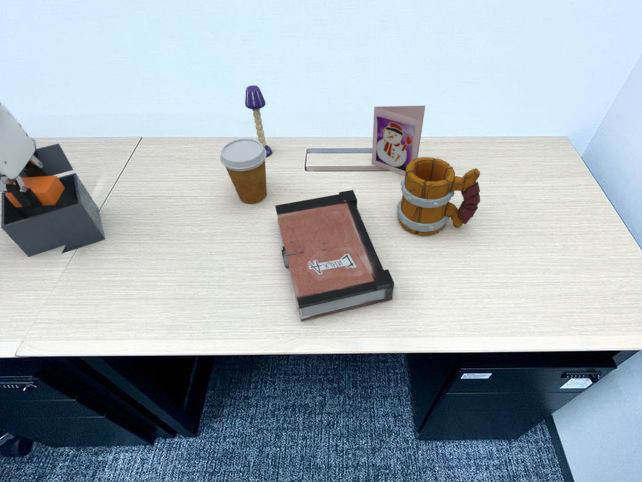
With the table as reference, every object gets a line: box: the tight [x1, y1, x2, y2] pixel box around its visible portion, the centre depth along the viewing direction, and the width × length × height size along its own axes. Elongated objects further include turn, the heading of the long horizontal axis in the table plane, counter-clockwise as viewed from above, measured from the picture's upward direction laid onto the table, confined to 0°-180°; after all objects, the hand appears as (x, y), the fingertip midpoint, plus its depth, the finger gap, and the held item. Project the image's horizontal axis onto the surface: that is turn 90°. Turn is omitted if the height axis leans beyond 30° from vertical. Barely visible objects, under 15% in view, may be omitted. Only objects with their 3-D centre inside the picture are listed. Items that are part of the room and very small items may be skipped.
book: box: [274, 189, 395, 322], centre depth 77 cm, size 26×18×5 cm
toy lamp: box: [244, 84, 273, 158], centre depth 96 cm, size 5×5×17 cm
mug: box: [396, 156, 481, 237], centre depth 80 cm, size 11×16×15 cm, turn 70°
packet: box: [5, 175, 65, 207], centre depth 74 cm, size 7×5×3 cm
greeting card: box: [371, 105, 426, 177], centre depth 93 cm, size 11×7×15 cm, turn 58°
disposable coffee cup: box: [219, 137, 268, 205], centre depth 87 cm, size 10×10×12 cm
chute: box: [0, 172, 106, 258], centre depth 79 cm, size 13×11×10 cm
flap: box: [8, 143, 74, 184], centre depth 77 cm, size 13×5×1 cm
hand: (39, 195), depth 75 cm, fingers closed on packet, 5 cm apart
